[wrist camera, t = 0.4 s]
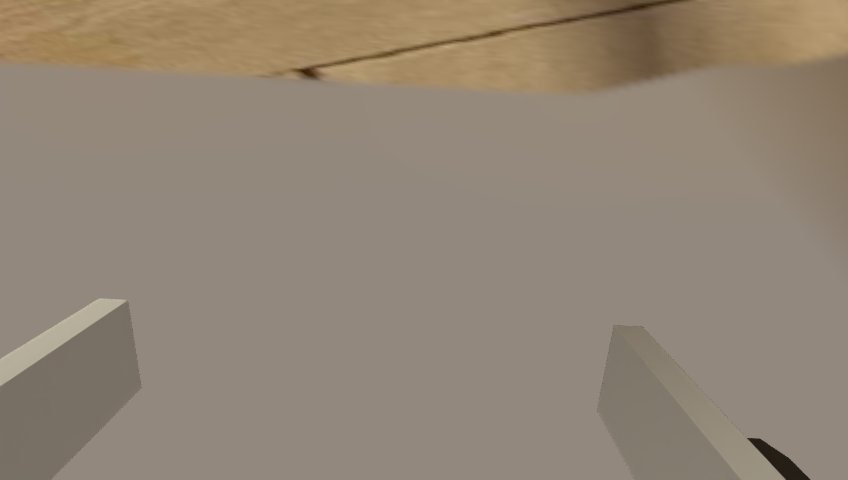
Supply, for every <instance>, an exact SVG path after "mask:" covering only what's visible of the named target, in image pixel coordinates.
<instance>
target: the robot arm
mask: <svg viewBox="0 0 848 480" xmlns="http://www.w3.org/2000/svg"><path fill="white" fill-rule="evenodd" d="M140 389H141V381H140V374H139V369H138V362H137V355H136V349H135V343H134V337H133V329H132V323H131V317H130V310H129V303H128V300H117V299H98V300H96V301H94V302H93V303H91V304H90V305H88V306H86V307H85V308H83V309H81V310H80V311H78V312H76V313H75V314H74V315H72V316H70V317H68V318H67V319H65V320H63V321H62V322H60V323H58V324H57V325H56V326H54V327H52V328H51V329H49V330H47V331H45V332H44V333H42V334H41V335H39V336H37V337H36V338H34V339H32V340H31V341H29V342H28V343H26V344H24V345H23V346H21V347H19V348H18V349H16V350H15V351H13V352H11V353H10V354H8V355H6V356H5V357H3V358H1V359H0V480H51V479H52V478H53V477H54V476H55V475H56V474H57V473H58V472H59V471H60V470H61V469H62V468H63V467H64V466H65V465H66V464H67V463H68V462H69V461H70V460H71V459H72V458H73V457H74V456H75V455H76V454H77V453H78V452H79V451H80V450H81V449H82V448H83V447H84V446H85V445H86V444H87V443H88V442H89V441H90V440H91V438H93V437H94V436H95V435H96V434H97V433H98V432H99V430H100V429H101V428H102V427H103V426H104V425H105V424H106V423H107V422H108V421H109V420H110V419H111V418H112V417H113V416H114V415H115V414H116V413H117V412H118V411H119V410H120V409H121V408H122V407H123V406H124V405H125V404H126V403H127V402H128V401H129V400H130V399H131V398H132V397H133V396H134V395H135V394H136V393H137V392H138V391H139V390H140ZM597 412H598V413H599V415H600V417H601V419H602V421H603V423H604V424H605V426H606V428H607V430H608V432H609V434H610V436H611V437H612V439H613V441H614V443H615V445H616V447H617V448H618V450H619V452H620V454H621V456H622V458H623V459H624V461H625V463H626V465H627V467H628V469H629V470H630V472H631V474H632V476H633V478H634V479H635V480H810V479H809V478H808V477H807V476H806V475H805V474H804V473H803V472H802V471H801V470H800V469H799V468H798V467H797V466H796V465H795V464H794V463H793V462H792V461H791V460H790V459H789V458H788V457H786V456H785V455H783V454H782V453H780V452H779V451H777V450H776V449H774V448H773V447H771V446H770V445H768V444H767V443H766V442H764V441H763V440H761V439H755V438H746V437H745V436H744V435H743V434H742V433H741V432H740V431H739V429H738V428H737V427H736V426H735V425H734V424H733V423H732V422H731V421H730V420H729V419H728V418H727V417H726V415H725V414H724V413H723V412H722V411H721V410H720V409H719V408H718V407H717V406H716V405H715V404H714V403H713V402H712V401H711V400H710V398H709V397H708V396H707V395H706V394H705V393H704V392H703V391H702V390H701V389H700V388H699V387H698V386H697V385H696V384H695V382H694V381H693V380H692V379H691V378H690V377H689V376H688V375H687V374H686V373H685V372H684V371H683V370H682V369H681V368H680V366H679V365H677V363H676V362H675V361H674V360H673V359H672V358H671V357H670V356H669V355H668V354H667V353H666V352H665V351H664V350H663V348H662V347H661V346H660V345H659V344H658V343H657V342H656V341H655V340H654V339H653V338H652V337H651V336H650V335H649V333H648V332H647V331H646V330H645V329H644V328H643V327H641V326H622V325H614V327H613V332H612V337H611V343H610V348H609V352H608V358H607V363H606V367H605V372H604V377H603V383H602V388H601V393H600V398H599V403H598V408H597Z"/></svg>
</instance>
